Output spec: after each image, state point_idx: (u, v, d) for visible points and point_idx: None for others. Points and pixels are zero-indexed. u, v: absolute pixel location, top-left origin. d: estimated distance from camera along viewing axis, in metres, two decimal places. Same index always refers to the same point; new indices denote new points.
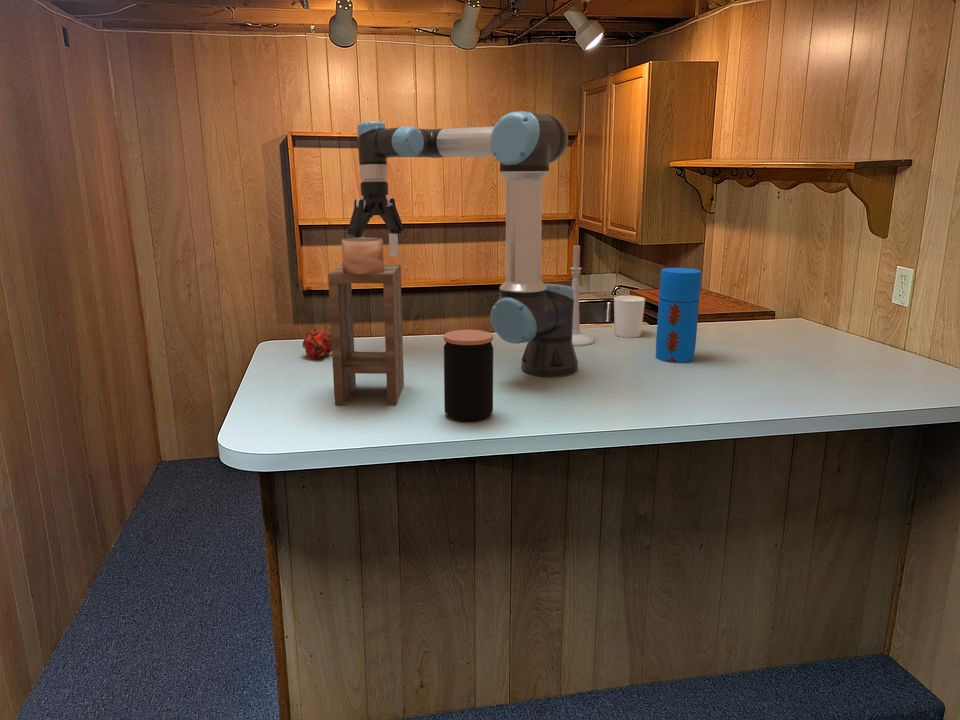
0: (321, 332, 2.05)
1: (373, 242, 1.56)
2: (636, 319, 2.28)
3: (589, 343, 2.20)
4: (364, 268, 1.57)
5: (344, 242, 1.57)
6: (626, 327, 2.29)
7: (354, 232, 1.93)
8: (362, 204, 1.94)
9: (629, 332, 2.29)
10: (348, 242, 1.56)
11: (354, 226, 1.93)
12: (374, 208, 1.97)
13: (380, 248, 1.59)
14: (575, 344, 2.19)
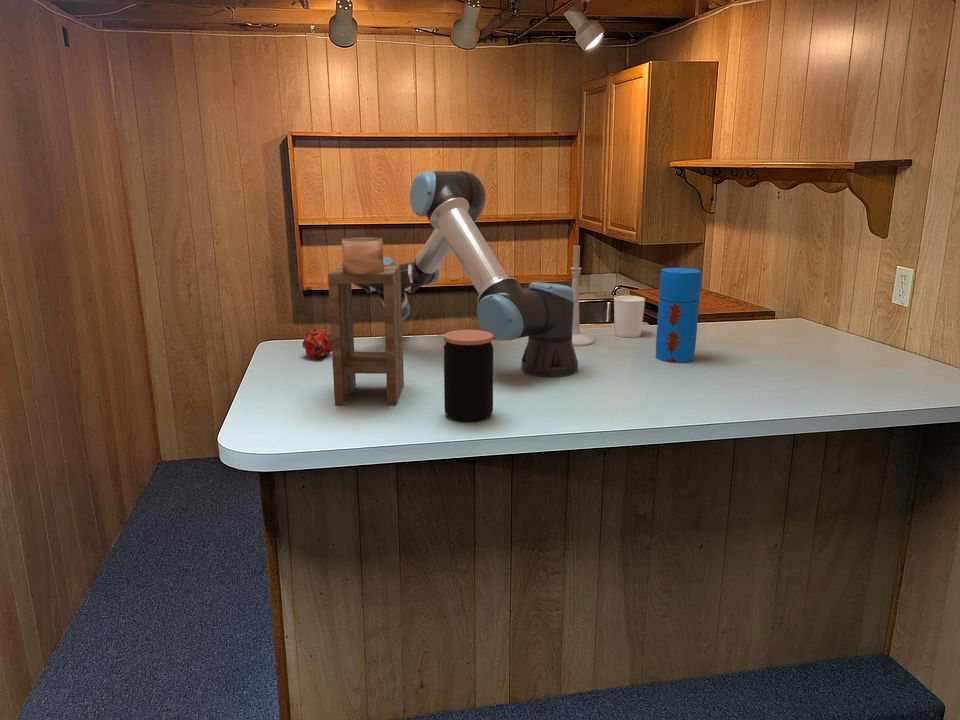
0: (321, 332, 2.05)
1: (373, 242, 1.56)
2: (636, 320, 2.28)
3: (589, 343, 2.20)
4: (364, 268, 1.57)
5: (344, 242, 1.57)
6: (626, 327, 2.29)
7: None
8: None
9: (629, 332, 2.29)
10: (348, 242, 1.56)
11: None
12: None
13: (380, 248, 1.59)
14: (575, 344, 2.19)
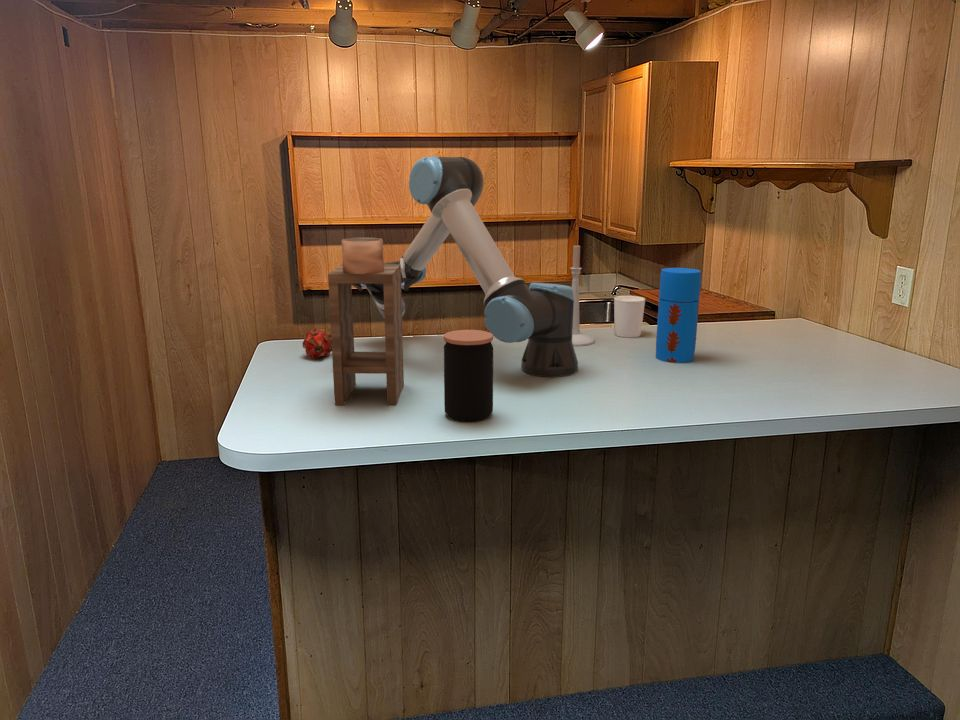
0: (321, 332, 2.05)
1: (373, 242, 1.56)
2: (636, 320, 2.28)
3: (589, 343, 2.20)
4: (364, 268, 1.57)
5: (344, 242, 1.57)
6: (626, 327, 2.29)
7: None
8: None
9: (629, 332, 2.29)
10: (348, 242, 1.56)
11: None
12: None
13: (380, 248, 1.59)
14: (575, 344, 2.19)
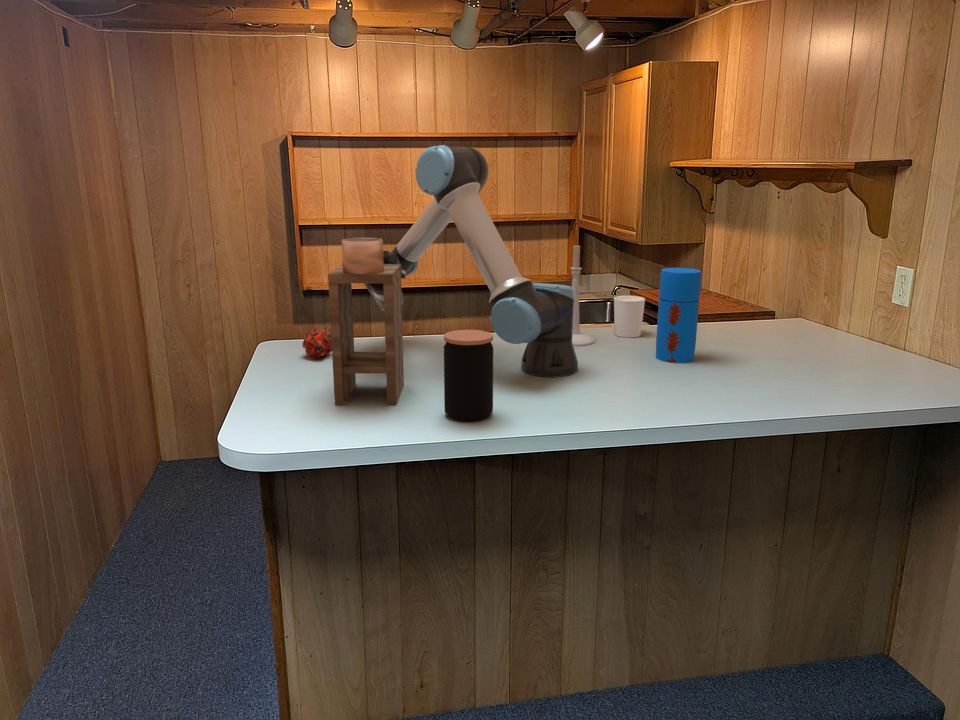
0: (321, 332, 2.05)
1: (373, 242, 1.56)
2: (636, 319, 2.28)
3: (589, 343, 2.20)
4: (364, 268, 1.57)
5: (344, 242, 1.57)
6: (626, 327, 2.29)
7: None
8: None
9: (629, 332, 2.29)
10: (348, 242, 1.56)
11: None
12: None
13: (380, 248, 1.59)
14: (575, 344, 2.19)
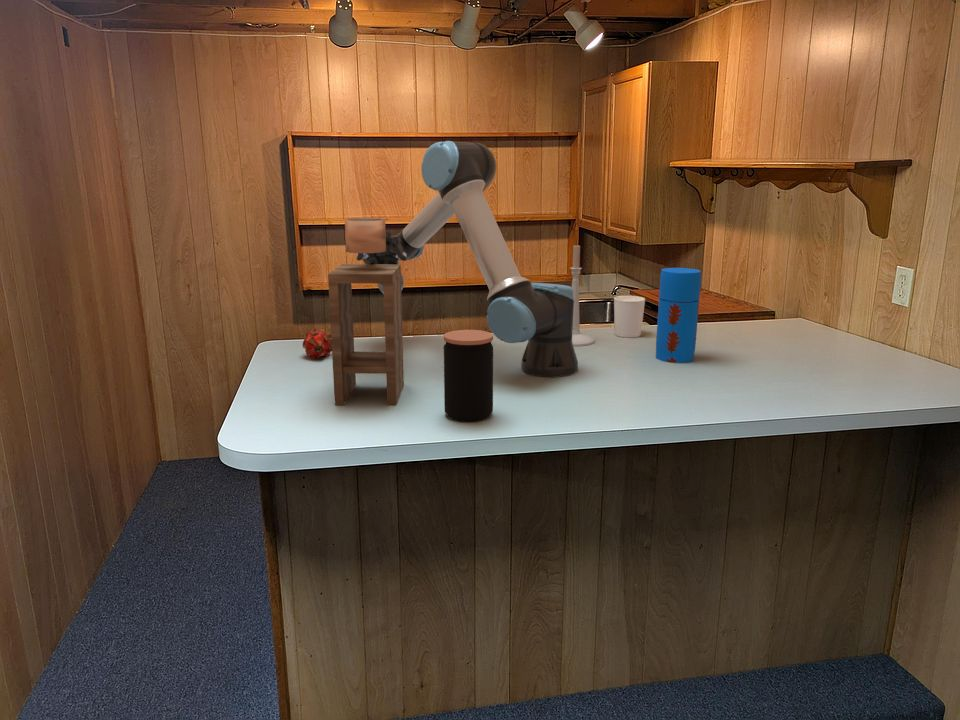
0: (321, 332, 2.05)
1: (376, 222, 1.59)
2: (636, 320, 2.28)
3: (589, 343, 2.20)
4: (367, 247, 1.60)
5: (347, 222, 1.60)
6: (626, 327, 2.29)
7: None
8: None
9: (629, 332, 2.29)
10: (351, 222, 1.59)
11: None
12: None
13: (382, 228, 1.62)
14: (575, 344, 2.19)
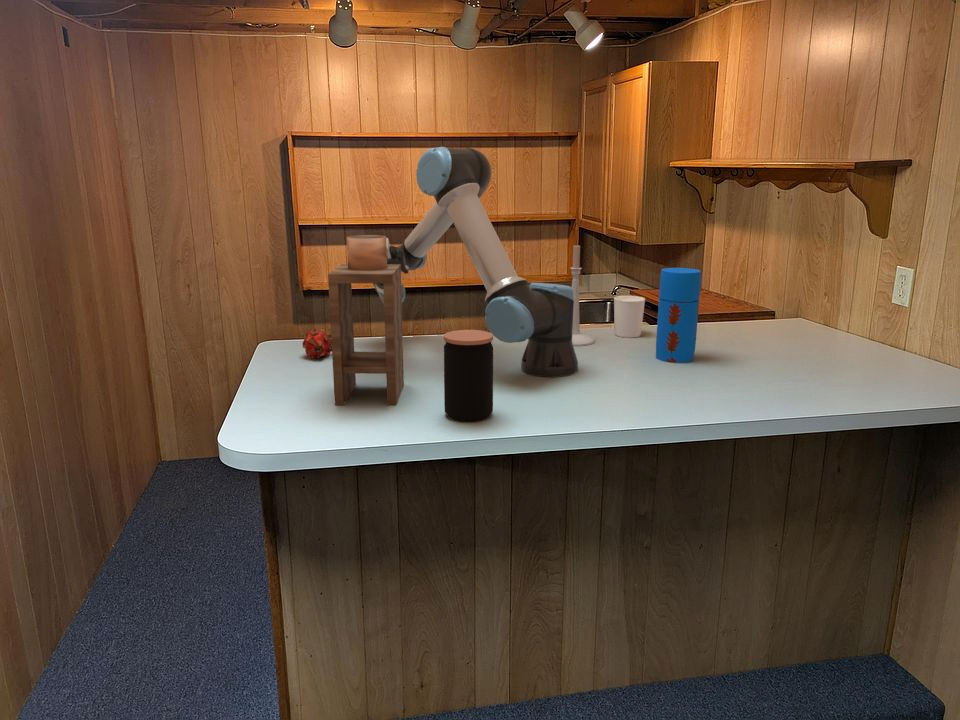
0: (321, 332, 2.05)
1: (377, 239, 1.62)
2: (636, 319, 2.28)
3: (589, 343, 2.20)
4: (368, 264, 1.63)
5: (349, 239, 1.63)
6: (626, 327, 2.29)
7: None
8: None
9: (629, 332, 2.29)
10: (353, 239, 1.62)
11: None
12: None
13: (384, 245, 1.64)
14: (575, 344, 2.19)
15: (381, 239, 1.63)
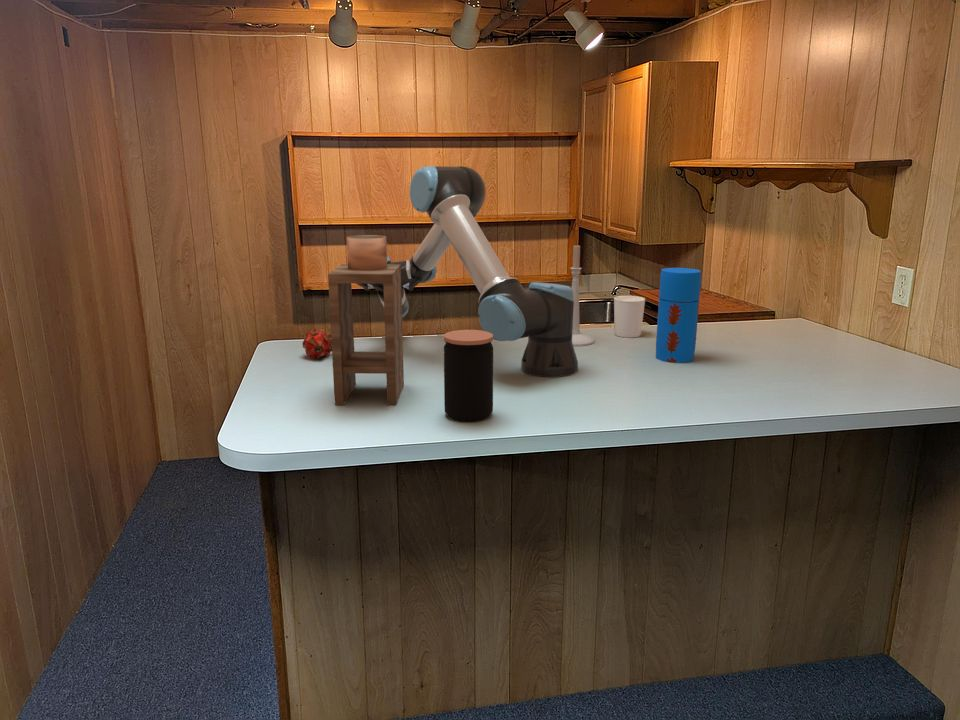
0: (321, 332, 2.05)
1: (377, 239, 1.62)
2: (636, 320, 2.28)
3: (589, 343, 2.20)
4: (368, 264, 1.63)
5: (349, 239, 1.63)
6: (626, 327, 2.29)
7: None
8: None
9: (629, 332, 2.29)
10: (353, 239, 1.62)
11: None
12: None
13: (384, 245, 1.64)
14: (575, 344, 2.19)
15: (381, 239, 1.63)
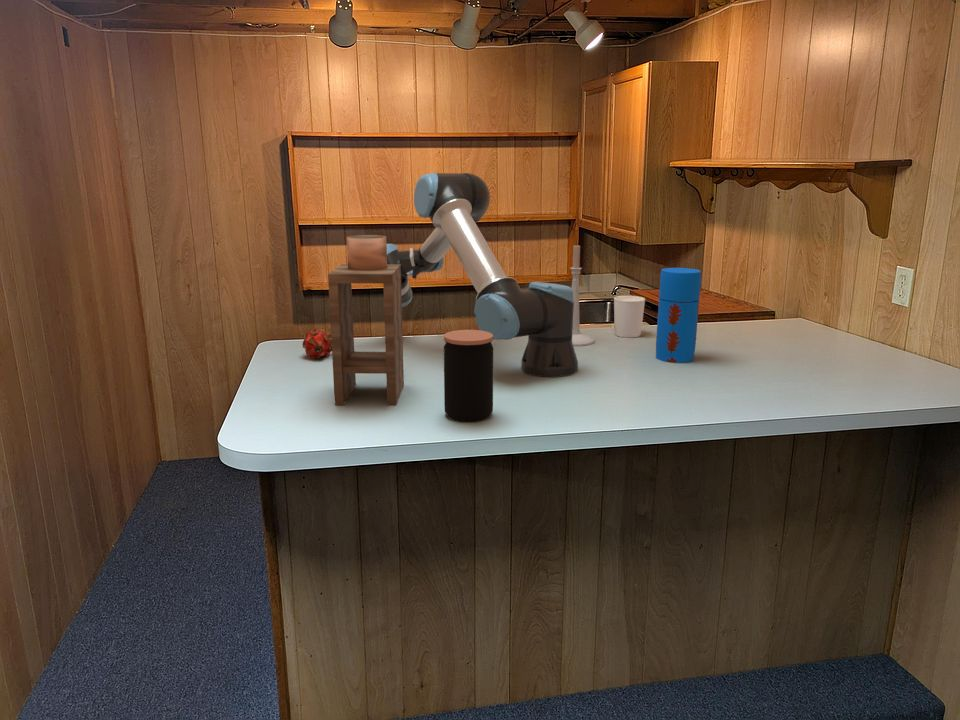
0: (321, 332, 2.05)
1: (377, 239, 1.62)
2: (636, 319, 2.28)
3: (589, 343, 2.20)
4: (368, 264, 1.63)
5: (349, 239, 1.63)
6: (626, 327, 2.29)
7: None
8: None
9: (629, 332, 2.29)
10: (353, 239, 1.62)
11: None
12: None
13: (384, 245, 1.64)
14: (575, 344, 2.19)
15: (381, 239, 1.63)
